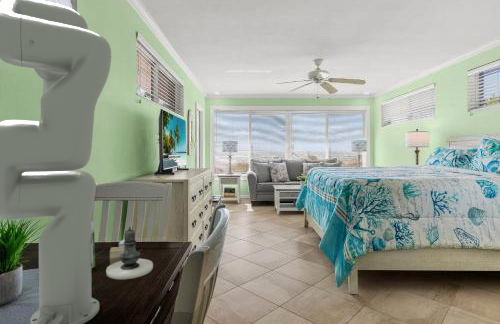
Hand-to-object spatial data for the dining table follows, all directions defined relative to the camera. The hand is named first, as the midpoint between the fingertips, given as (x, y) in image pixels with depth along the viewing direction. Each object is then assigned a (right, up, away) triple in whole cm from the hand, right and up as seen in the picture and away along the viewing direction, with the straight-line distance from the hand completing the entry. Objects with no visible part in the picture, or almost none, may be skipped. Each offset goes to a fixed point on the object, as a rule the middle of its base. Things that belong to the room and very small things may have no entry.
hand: (58, 159), depth 89 cm
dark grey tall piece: (+22, -33, -1) cm, 40 cm away
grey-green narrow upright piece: (+7, -34, -1) cm, 34 cm away
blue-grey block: (+14, -33, +15) cm, 39 cm away
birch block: (+15, -33, +7) cm, 37 cm away
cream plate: (+22, -34, -1) cm, 40 cm away
